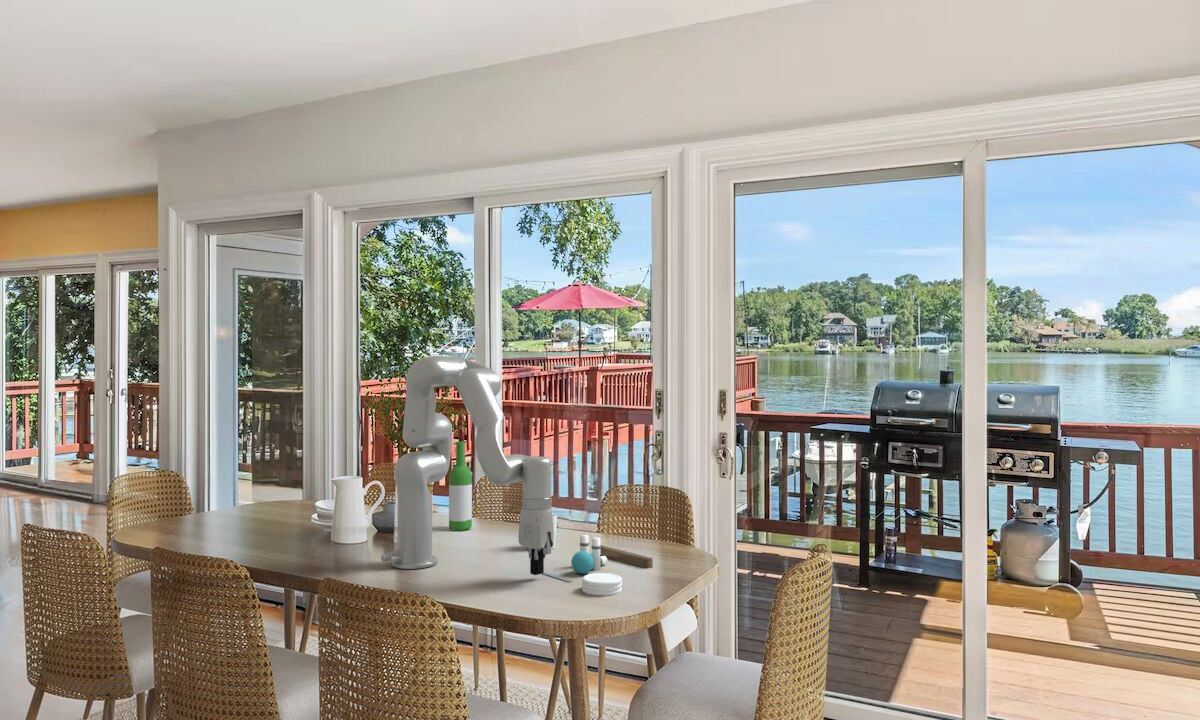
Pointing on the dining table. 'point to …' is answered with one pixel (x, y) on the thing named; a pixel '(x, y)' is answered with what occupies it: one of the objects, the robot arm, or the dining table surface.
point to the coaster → (602, 584)
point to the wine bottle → (460, 492)
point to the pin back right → (596, 553)
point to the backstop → (626, 557)
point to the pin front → (603, 560)
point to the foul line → (557, 577)
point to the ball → (582, 562)
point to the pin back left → (584, 543)
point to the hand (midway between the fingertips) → (537, 573)
